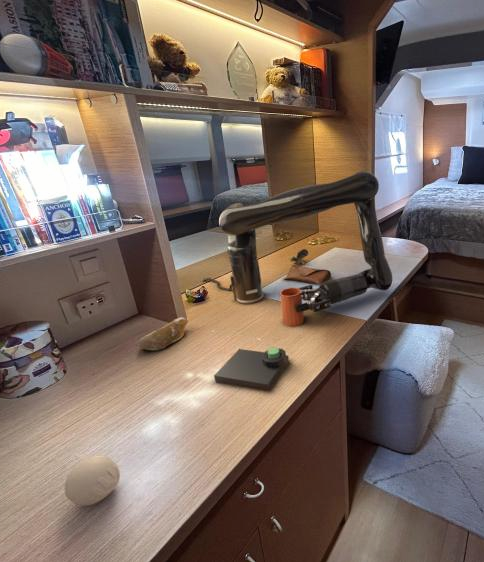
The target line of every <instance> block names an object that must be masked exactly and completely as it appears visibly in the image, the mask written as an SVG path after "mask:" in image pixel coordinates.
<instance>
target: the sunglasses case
mask: <svg viewBox="0 0 484 562" xmlns="http://www.w3.org/2000/svg"><path fill="white" fill-rule="evenodd" d="M331 278H332V272H331V271H330V270H328V269H320V268H314V267H307V266H306V267H305V266H300V265H299V266H297V265H296V264H292V265H291V267H290V269H289V271H288V273H286V276H285V277H284V278H283V280H287V281H293V282H299V283H305V284H309V285H320V284H321V283H323V282H327V281H331V280H332V279H331Z"/></svg>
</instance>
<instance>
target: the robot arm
mask: <svg viewBox="0 0 484 562" xmlns="http://www.w3.org/2000/svg"><path fill="white" fill-rule="evenodd" d="M379 183H380V182H379V180H378V178H377V177H376V176H375V175H374V174H373V173H371V172H370V171H366V170H365V171H364V170H362V171H358V172H355V173H354V174H352V175H350V176H347V177H345V178H342V179H339V180H336V181H331V182H328V183H319V184H312V185H311V184H310V185H306V186H301V187H298V188H293V189H290V190H287V191H283V192H281V193H279V194H276V195H274V196H271V197H270V198H267V199H265V200H263V201H259V202H256V203H254V204H248V205H246V204H245V203H240V202H235V203H232V204H229V206H227V207H226V208H224V210H223V211H222V212H221V213H220V216H219V220H218V225H219V228H220V229H221V230H222V232H224V233H225V234H227V237H228V240H227V247H226V249H227V254H228V258H229V265H230V269H231V274H230V277H229V278H230V284H229V288H226V287H223V286H221V285H220V283H219V281H218V280H216V279H214V278H210V277H205V278H206V280H205V278H204V279H203V280H202V282H206V281H211V282H214V283H216V287H217V288H218V289H220V290H223V291H228V292H229V291H232V293H233V298H234V302H235V301H236V302H237V303H239V304H246V305H247V304H249V305H250V304H254V303H257V302H259V301H261V300H263V298H264V295H265V294H264V291H263V284H262V278H261V271H260V264H259V257H258V251H257V234H256V230H258V229H260V228H263V227H266V226H270V225H276V224H282V223H287V222H291V221H295V220H300V219H303V218H307V217H311V216H313V215H316V214H320V213H323V212H325V211H328V210H331V209H333V208H335V207H336V208H337V207H339V206H340V207H341V206H345V205H350V204H354V207H355V210H356V215H357V219H358V225H359V233H360V240H361V247H362V253H363V258H364V261H365V264H368V265H369V266H370V268H367V269H365V270H363V271H361V272H359V273H357V274H353V275H349V276H346V277H345V276H344V277H339V278H334V279H330V280H329V281H327V282H323V283H321V284H319V286H318V287H316V288H314V287H313V284H308V285H304V286H300V287H298V288H299V289H300V290H301V296H302V301H303V302H302V304H299V305H296V306H295V309H296V312H297V313H299V312H303V313H304V312H305V311H310V312H311V311H312V312H313V313H318V312H321V311H323V310H327V309H329V308H331V307H332V305H334V304H338V303H341V302H344V301H347V300H350V299H352V298H355V297H358V296H362V295H364V294H366V292H367V291H368V289H375V290H377V291H382V292H385V291H387V290H389V289H390V288H391V287H392V284H393V273H392V270H391V267H390V264H389V261H388V260H387V258H386V255H385V248H384V241H383V237H382V232H381V228H380V225H379V221H378V216H377V211H376V210H377V209H376V196H377V194H378V192H379V188H380V184H379ZM304 301H306V302H304Z"/></svg>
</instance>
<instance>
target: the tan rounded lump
mask: <svg viewBox="0 0 484 562" xmlns="http://www.w3.org/2000/svg"><path fill="white" fill-rule="evenodd" d="M120 473H121V472H120V469H119V466H118V464H117V463H116V461H115V460H114V459H112V458H110V457H108V456H106V455H93V456H90V457H87V458H85V459H83V460H81V461H79V462H78V463H77V464H76V465H74V467H72V468H71V470H70V471H69V473H68V475H67V476H66V479H65V482H64V494H65V497H66V498H67V500H69V501H70V502H71V503H73V504H75V505H77V506H84V507H85V506H86V507H87V506H91V505H95V504H97V503H99V502H100V501H101V502H102V501H103V500H104V499H105V498H107V496H109V495H110V493H112V492H113V491H114V490H115V489H116V488H117V486H118V484H119V482H120V477H121V474H120Z"/></svg>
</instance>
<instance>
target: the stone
mask: <svg viewBox="0 0 484 562" xmlns="http://www.w3.org/2000/svg"><path fill="white" fill-rule="evenodd" d="M188 322H189V319H188V318H186V317H184V316H180V317H178V318H176V319H173V320H172V321H171V322H169V323H168V324H165V325H164V326H162V327H161V328H158V329H156V330H154V331H151V332H150V333H148V334H146V335H145V336H143V337H141V338H140V339H139V340H138V341H137V342H136V343H135V346H136V347H138V348H140V349H143V350H147V351H158V350H161V349H164V348H166V347H167V346H169V345H171V344H173V343H175V342H177V341H179V340H181V339H182V338H183V336H184V335H185V327H186V325H187V324H188Z"/></svg>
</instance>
